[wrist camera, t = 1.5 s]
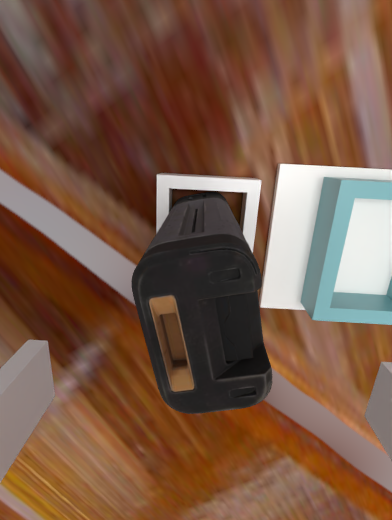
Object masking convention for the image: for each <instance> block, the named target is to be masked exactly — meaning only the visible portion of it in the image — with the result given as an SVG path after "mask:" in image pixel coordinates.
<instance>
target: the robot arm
mask: <svg viewBox="0 0 392 520" xmlns="http://www.w3.org/2000/svg"><path fill="white" fill-rule="evenodd" d="M54 397H55V391H54V384H53V376H52V369H51V362H50V354H49V347H48V341H43V340H28V341H27V342H26V343H25V344H24V345H23V346H22V347H21V348H20V349H19V350H18V351H17V352H16V353H15V354H14V355H13V356H12V357H11V358H10V359H9V360H8V361H7V362H6V363H5V364H4V365H3V366H2V367H1V368H0V482H1V481H2V479H3V477H4V476H5V474H6V473H7V471H8V470H9V468H10V466H11V465H12V463H13V462H14V460H15V459H16V457H17V455H18V454H19V452H20V451H21V449H22V447H23V446H24V444H25V443H26V441H27V440H28V438H29V436H30V435H31V433H32V432H33V430H34V428H35V427H36V425H37V424H38V422H39V421H40V419H41V417H42V416H43V414H44V413H45V411H46V409H47V408H48V406H49V405H50V403H51V402H52V400H53V398H54ZM365 418H366V419H367V421H368V423H369V424H370V426H371V428H372V429H373V431H374V433H375V434H376V436H377V437H378V439H379V441H380V442H381V444H382V446H383V447H384V449H385V451H386V452H387V454H388V455H389V457H390V459H391V460H392V362H381V365H380V368H379V371H378V374H377V377H376V381H375V384H374V387H373V390H372V393H371V397H370V400H369V403H368V406H367V409H366V413H365Z"/></svg>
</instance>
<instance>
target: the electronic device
mask: <svg viewBox="0 0 392 520" xmlns="http://www.w3.org/2000/svg"><path fill="white" fill-rule="evenodd" d="M261 287H262V279H261V273H260V269H259V266H258V263H257V261H256V259H255V257H254V255H253V253H252V251H251V249H250V247H249V244H248V243H247V241H246V239H245V237H244V235H243V233H242V231H241V229H240V226H239V224H238V222H237V221H236V219H235V217H234V215H233V213H232V211H231V209H230V207H229V205H228V203H227V201H226V199H225V198H224V196H222V195H221V194H220V193H217V192H206V193H201V194H195V195H189V196H185V197H182V198H180V199H178V200H177V201H176V203H175V204H174V206H173V208H172V209H171V211H170V213H169V214H168V216H167V217H166V219H165V221H164V222H163V224H162V226H161V227H160V229H159V231H158V232H157V234H156V235H155V237H154V239H153V240H152V242H151V244H150V245H149V247H148V249H147V250H146V252H145V253H144V255H143V257H142V258H141V260H140V262H139V263H138V265H137V267H136V269H135V270H134V273H133V276H132V291H133V296H134V300H135V304H136V308H137V311H138V315H139V319H140V322H141V326H142V330H143V333H144V337H145V341H146V344H147V348H148V352H149V356H150V359H151V363H152V367H153V370H154V374H155V378H156V381H157V385H158V389H159V391H160V394H161V396H162V398H163V400H164V401H165V402H166V404H167V405H169V406H170V407H171V408H173V409H175V410H177V411H179V412H182V413H187V414H194V413H206V412H215V411H224V410H232V409H241V408H246V407H250V406H253V405H255V404H258V403H259V402H261V401H262V400H263V399H264V398H265V397H266V396H267V395H268V393H269V392H270V389H271V386H272V369H271V365H270V362H269V359H268V356H267V353H266V349H265V346H264V343H263V335H262V326H261V318H260V309H259V301H258V292H257V290H258V289H259V288H261Z"/></svg>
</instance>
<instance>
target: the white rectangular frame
mask: <svg viewBox="0 0 392 520" xmlns="http://www.w3.org/2000/svg"><path fill="white" fill-rule="evenodd" d="M172 188H173V189H191V190H209V191H228V192H243V199H242V208H241V218H240V229H241V231H242V233H243V235H244V237H245V239H246V241H247V243H248V244H249V247H250V249H251V251H252V253H253V246H254V238H255V230H256V221H257V213H258V205H259V197H260V188H261V180H259V179H257V178H245V177H227V176H209V175H190V174H172V173H160V174H157V226H156V234H157V232H158V231H159V229H160V227H161V226H162V224H163V222H164V221H165V219H166V217H167V216H168V214H169V213H170V211H171V209H172Z"/></svg>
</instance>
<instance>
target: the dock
mask: <svg viewBox="0 0 392 520" xmlns="http://www.w3.org/2000/svg"><path fill="white" fill-rule="evenodd" d="M259 305H260V307H263V308H280V309H297V310H306V311H307V313H308V314H309V316H310V317H311V319H312V320H320V321H337V322H354V323H371V324H389V325H392V170H389V169H370V168H352V167H333V166H315V165H296V164H278V168H277V175H276V182H275V190H274V197H273V204H272V212H271V219H270V226H269V234H268V241H267V248H266V255H265V263H264V270H263V277H262V287H261V292H260V299H259Z"/></svg>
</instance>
